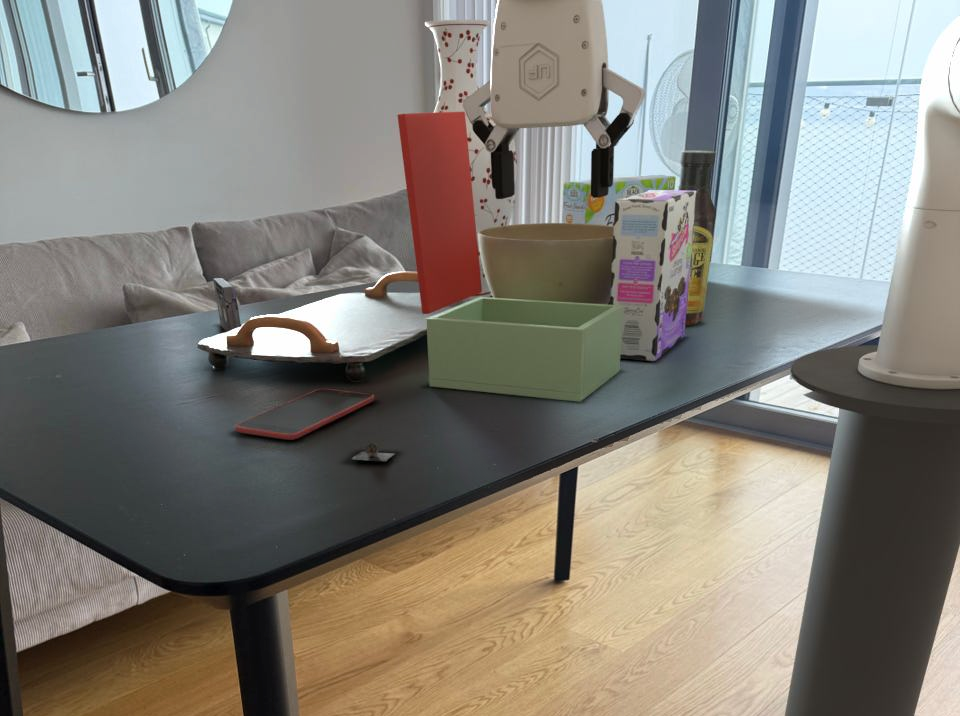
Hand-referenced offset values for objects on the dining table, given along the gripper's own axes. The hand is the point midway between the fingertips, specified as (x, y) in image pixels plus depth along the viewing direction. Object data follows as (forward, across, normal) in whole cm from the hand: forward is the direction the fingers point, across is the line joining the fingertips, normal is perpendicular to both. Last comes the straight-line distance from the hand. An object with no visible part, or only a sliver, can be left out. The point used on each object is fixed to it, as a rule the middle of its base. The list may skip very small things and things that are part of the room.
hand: (551, 197), depth 86 cm
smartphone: (+17, -17, -20) cm, 31 cm away
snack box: (+18, -13, +62) cm, 65 cm away
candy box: (+18, +5, +18) cm, 26 cm away
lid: (+1, -11, 0) cm, 11 cm away
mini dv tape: (+16, -50, +10) cm, 53 cm away
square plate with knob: (+17, -5, -28) cm, 33 cm away
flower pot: (+18, -8, +20) cm, 28 cm away
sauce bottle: (+18, +5, +33) cm, 38 cm away
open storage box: (+17, -3, 0) cm, 18 cm away
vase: (+17, -31, +43) cm, 55 cm away
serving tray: (+17, -29, +8) cm, 34 cm away
